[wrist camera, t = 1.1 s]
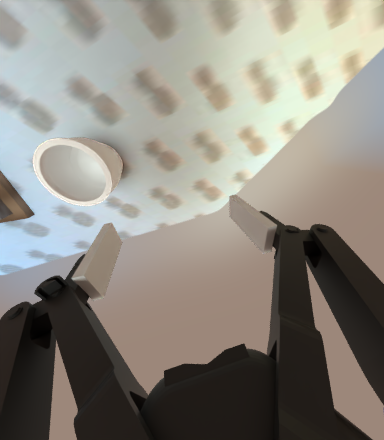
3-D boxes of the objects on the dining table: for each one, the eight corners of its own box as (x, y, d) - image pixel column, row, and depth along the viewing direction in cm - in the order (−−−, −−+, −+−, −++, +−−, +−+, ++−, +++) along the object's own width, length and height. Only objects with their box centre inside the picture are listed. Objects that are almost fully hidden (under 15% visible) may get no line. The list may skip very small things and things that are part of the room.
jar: (136, 168, 37) (125, 184, 24) (106, 190, 38) (81, 216, 26) (102, 127, 32) (66, 120, 19) (68, 154, 33) (12, 165, 20)
